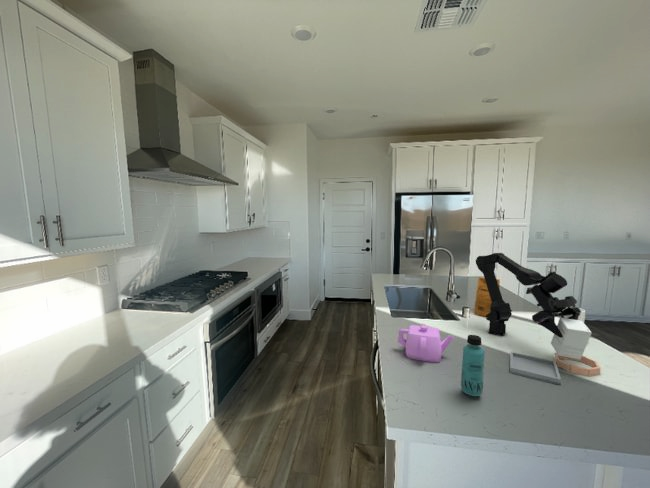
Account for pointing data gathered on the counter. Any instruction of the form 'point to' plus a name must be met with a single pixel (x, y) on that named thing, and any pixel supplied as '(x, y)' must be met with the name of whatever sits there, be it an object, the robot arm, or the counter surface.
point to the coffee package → (483, 298)
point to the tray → (534, 367)
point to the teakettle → (423, 343)
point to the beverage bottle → (472, 366)
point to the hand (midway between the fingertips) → (571, 335)
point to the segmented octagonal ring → (579, 370)
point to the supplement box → (571, 338)
